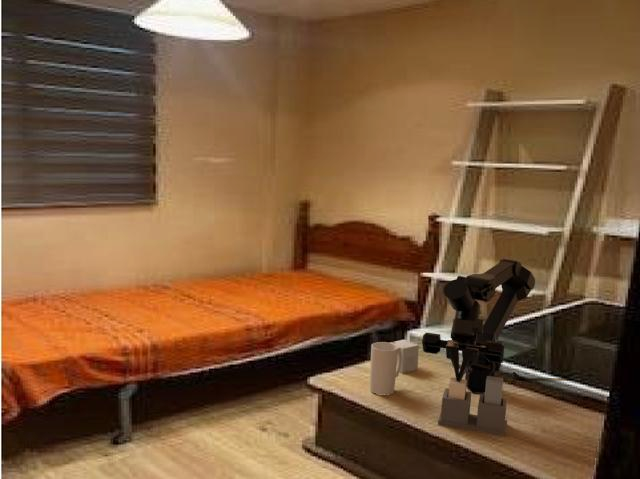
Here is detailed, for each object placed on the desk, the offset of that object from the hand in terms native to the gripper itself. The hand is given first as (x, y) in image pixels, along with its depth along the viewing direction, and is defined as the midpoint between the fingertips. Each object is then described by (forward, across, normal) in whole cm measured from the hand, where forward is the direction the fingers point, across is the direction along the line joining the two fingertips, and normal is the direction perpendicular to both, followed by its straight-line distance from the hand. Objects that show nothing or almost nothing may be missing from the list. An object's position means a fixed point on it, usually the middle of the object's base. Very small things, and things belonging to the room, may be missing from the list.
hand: (458, 380), depth 143 cm
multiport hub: (-20, +18, +35) cm, 44 cm away
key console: (+7, +4, +7) cm, 11 cm away
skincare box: (-13, -18, +28) cm, 36 cm away
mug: (-1, -19, +16) cm, 25 cm away
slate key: (+4, +8, +4) cm, 10 cm away
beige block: (+5, 0, +5) cm, 7 cm away
